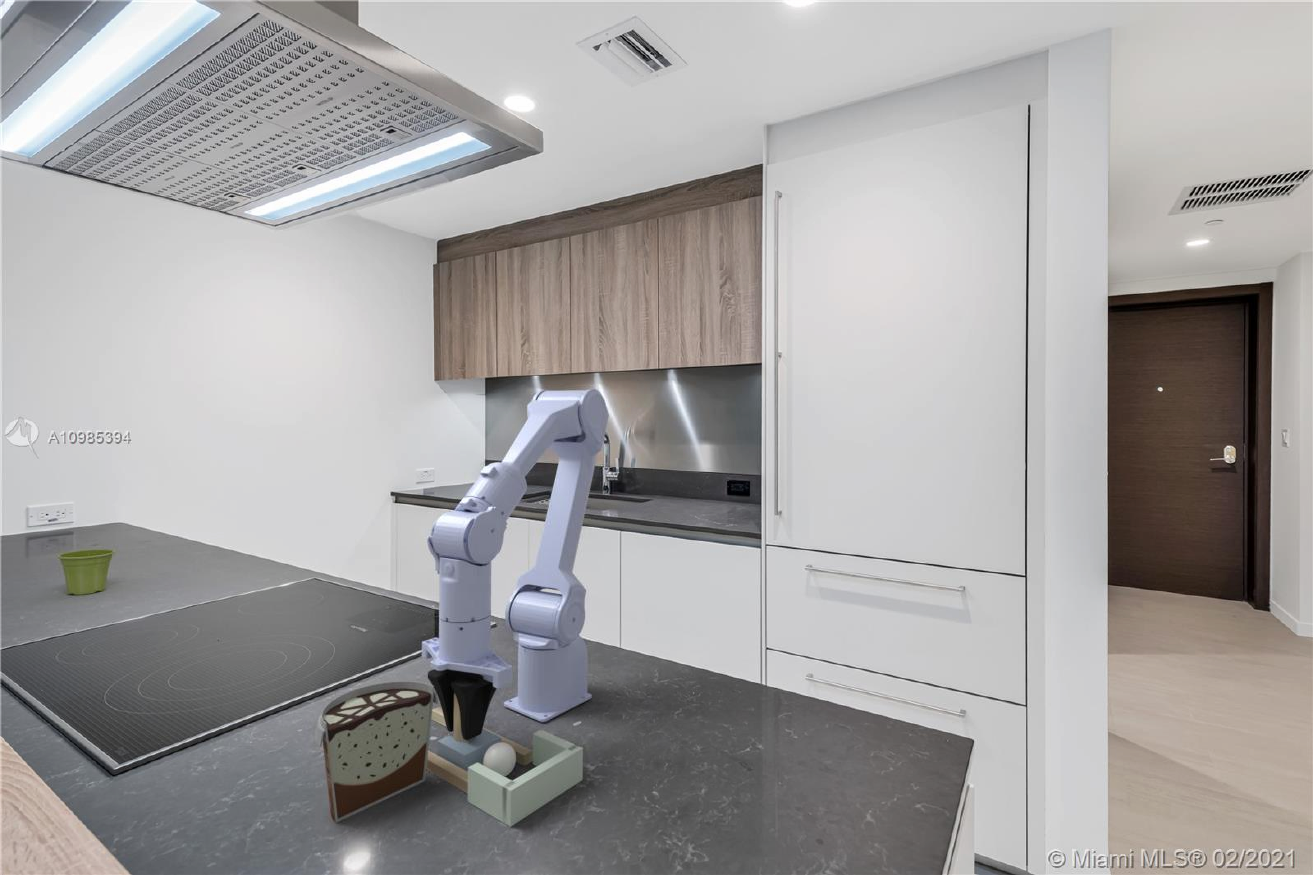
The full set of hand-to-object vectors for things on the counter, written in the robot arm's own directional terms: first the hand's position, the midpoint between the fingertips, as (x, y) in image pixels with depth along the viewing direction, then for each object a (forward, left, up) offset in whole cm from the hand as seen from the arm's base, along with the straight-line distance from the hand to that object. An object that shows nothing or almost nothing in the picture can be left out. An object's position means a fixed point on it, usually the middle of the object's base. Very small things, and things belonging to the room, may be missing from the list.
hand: (464, 732), depth 72 cm
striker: (0, 0, -3) cm, 3 cm away
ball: (0, +6, -1) cm, 6 cm away
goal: (0, +10, -3) cm, 11 cm away
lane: (0, -2, -3) cm, 4 cm away
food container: (+10, -3, -3) cm, 11 cm away
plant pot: (+9, -124, -3) cm, 124 cm away
